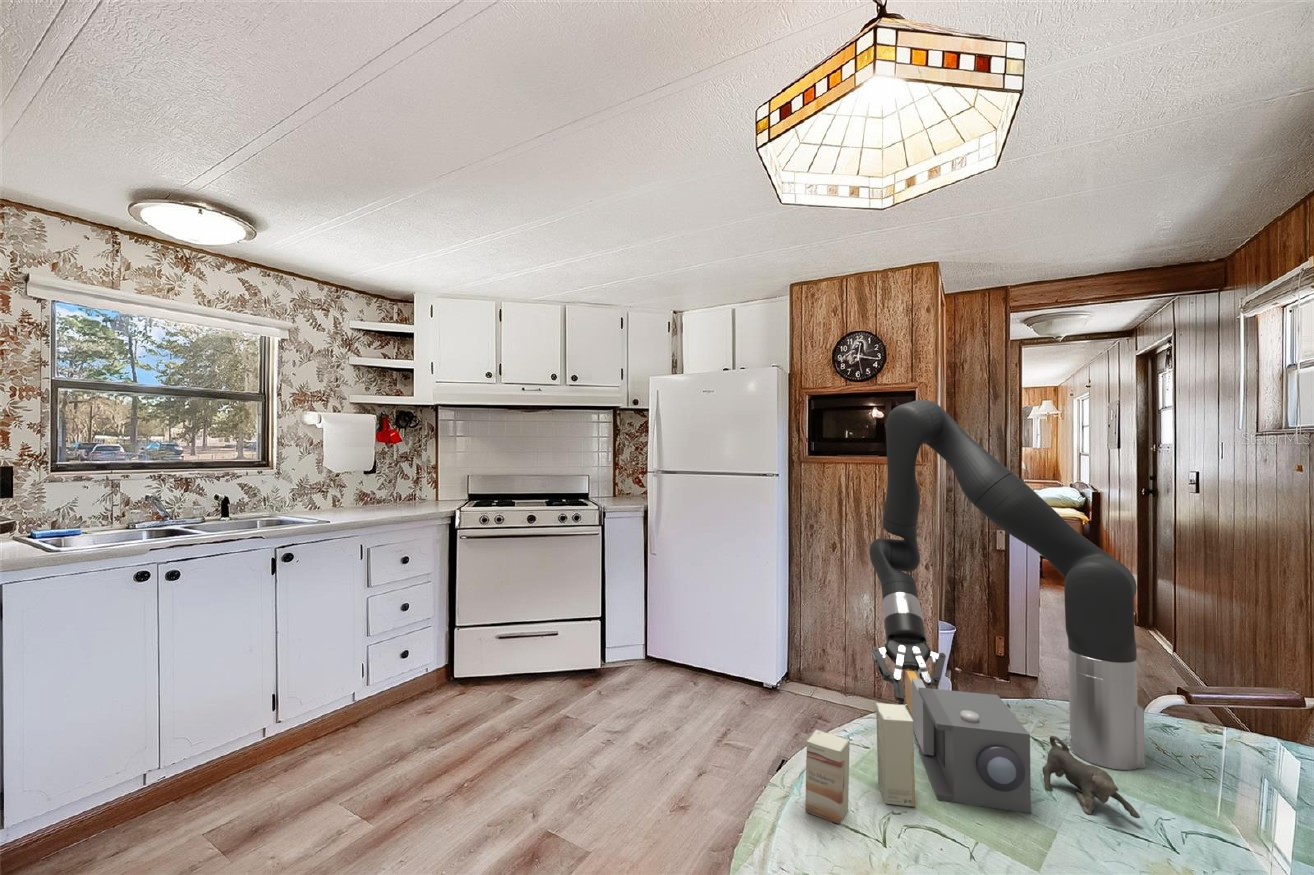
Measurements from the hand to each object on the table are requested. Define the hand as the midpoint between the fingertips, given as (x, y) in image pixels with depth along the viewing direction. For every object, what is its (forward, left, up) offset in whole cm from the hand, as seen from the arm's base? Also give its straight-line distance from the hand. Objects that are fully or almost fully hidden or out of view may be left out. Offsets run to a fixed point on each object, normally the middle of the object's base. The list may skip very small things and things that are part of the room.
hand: (914, 703), depth 107 cm
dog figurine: (-20, +18, -5) cm, 28 cm away
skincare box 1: (+17, +30, -5) cm, 35 cm away
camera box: (-5, +17, -5) cm, 18 cm away
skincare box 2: (+7, +23, -5) cm, 25 cm away
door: (0, +4, -3) cm, 5 cm away
